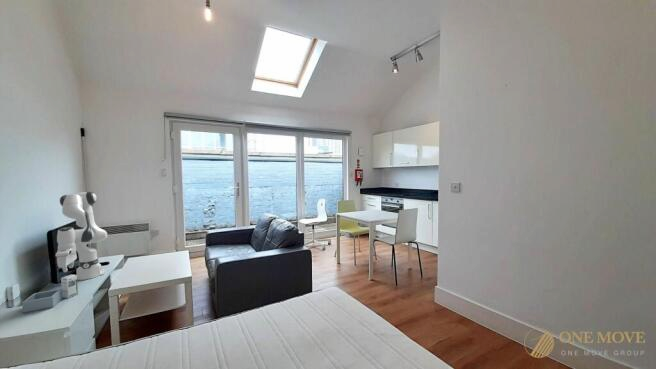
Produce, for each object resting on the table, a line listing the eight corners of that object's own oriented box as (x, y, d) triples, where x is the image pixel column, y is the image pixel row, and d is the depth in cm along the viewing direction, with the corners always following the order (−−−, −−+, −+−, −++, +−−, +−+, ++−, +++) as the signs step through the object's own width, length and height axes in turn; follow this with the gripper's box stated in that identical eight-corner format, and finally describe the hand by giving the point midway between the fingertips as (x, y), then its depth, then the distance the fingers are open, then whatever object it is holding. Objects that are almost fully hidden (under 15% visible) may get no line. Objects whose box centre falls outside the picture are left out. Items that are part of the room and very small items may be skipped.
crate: (34, 303, 168) (33, 293, 168) (62, 298, 175) (62, 288, 174) (22, 313, 156) (22, 302, 156) (53, 307, 163) (52, 296, 162)
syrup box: (68, 298, 175) (67, 278, 174) (62, 297, 176) (60, 277, 175) (78, 294, 180) (77, 274, 180) (71, 293, 181) (70, 274, 181)
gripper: (67, 247, 184) (68, 266, 185) (54, 255, 166) (55, 275, 167) (78, 246, 187) (80, 264, 188) (67, 253, 169) (68, 273, 170)
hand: (68, 269), depth 177 cm, fingers open, 8 cm apart
